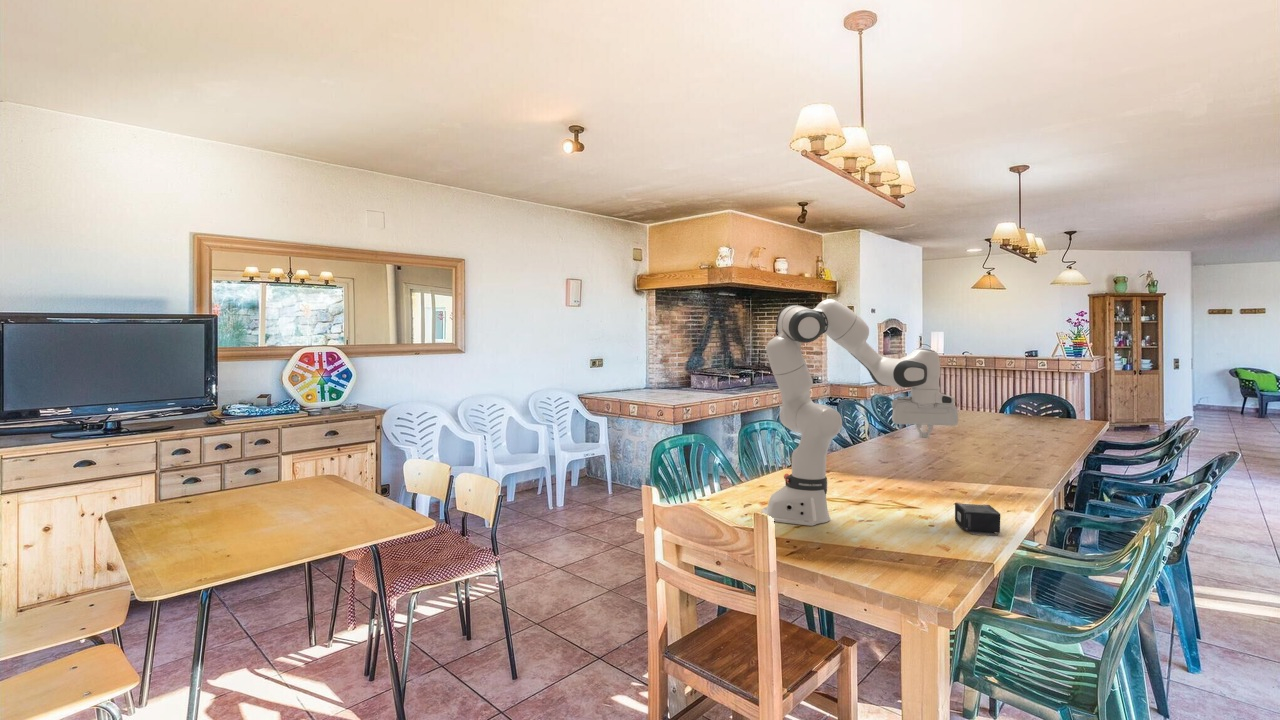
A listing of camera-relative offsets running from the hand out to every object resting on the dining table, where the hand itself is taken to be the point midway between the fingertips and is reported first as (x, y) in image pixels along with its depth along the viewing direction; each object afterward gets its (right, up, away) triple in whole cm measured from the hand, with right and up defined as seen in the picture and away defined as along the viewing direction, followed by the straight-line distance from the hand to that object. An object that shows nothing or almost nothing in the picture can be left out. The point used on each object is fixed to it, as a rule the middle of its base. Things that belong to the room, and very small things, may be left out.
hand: (924, 438), depth 205 cm
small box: (+7, -24, -9) cm, 27 cm away
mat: (+12, -28, -10) cm, 32 cm away
